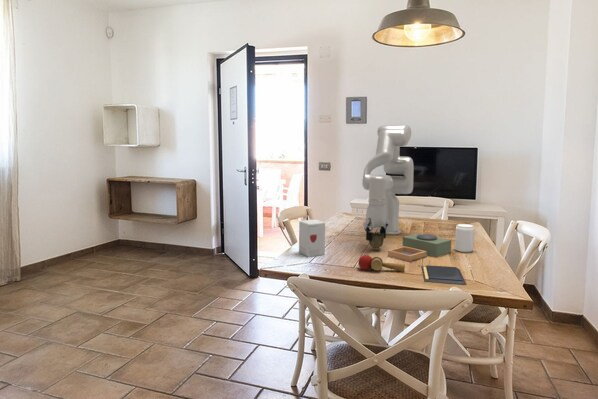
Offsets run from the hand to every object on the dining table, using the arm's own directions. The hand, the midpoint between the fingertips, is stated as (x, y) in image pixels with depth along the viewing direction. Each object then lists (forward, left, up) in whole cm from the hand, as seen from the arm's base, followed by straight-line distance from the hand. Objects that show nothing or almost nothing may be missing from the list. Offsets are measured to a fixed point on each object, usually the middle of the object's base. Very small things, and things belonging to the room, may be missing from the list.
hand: (375, 239), depth 195 cm
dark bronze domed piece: (0, +1, -6) cm, 6 cm away
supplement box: (-15, -26, -6) cm, 31 cm away
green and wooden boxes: (+16, +10, -5) cm, 19 cm away
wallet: (+40, -8, -6) cm, 41 cm away
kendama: (+21, -22, -6) cm, 31 cm away
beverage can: (+27, +32, -6) cm, 42 cm away
